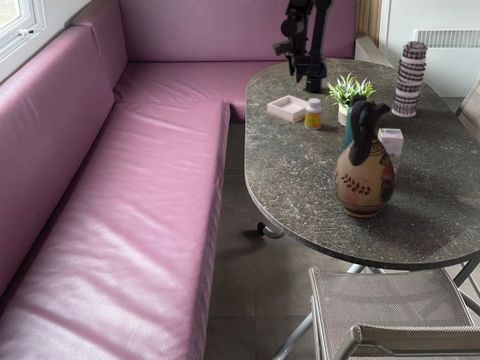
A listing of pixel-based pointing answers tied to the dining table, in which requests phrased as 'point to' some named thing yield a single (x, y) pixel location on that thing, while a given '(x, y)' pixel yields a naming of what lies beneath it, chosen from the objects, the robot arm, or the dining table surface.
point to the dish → (288, 108)
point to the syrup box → (392, 145)
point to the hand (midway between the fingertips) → (294, 79)
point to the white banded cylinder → (409, 79)
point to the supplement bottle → (313, 114)
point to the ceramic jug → (364, 165)
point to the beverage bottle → (348, 130)
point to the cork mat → (286, 119)
